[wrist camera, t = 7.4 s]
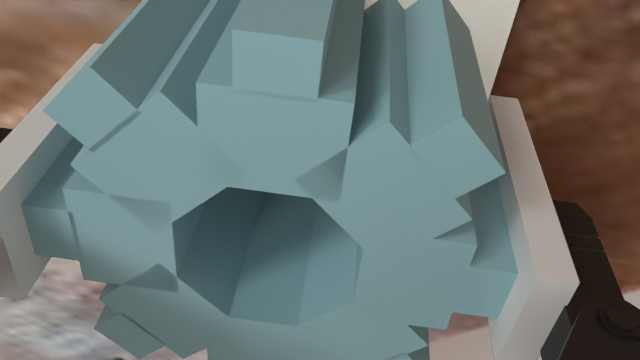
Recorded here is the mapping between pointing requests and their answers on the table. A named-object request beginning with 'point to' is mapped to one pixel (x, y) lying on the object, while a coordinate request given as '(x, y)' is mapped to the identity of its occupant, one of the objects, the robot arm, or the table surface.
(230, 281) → the teal gear
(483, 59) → the gear board
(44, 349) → the table surface
